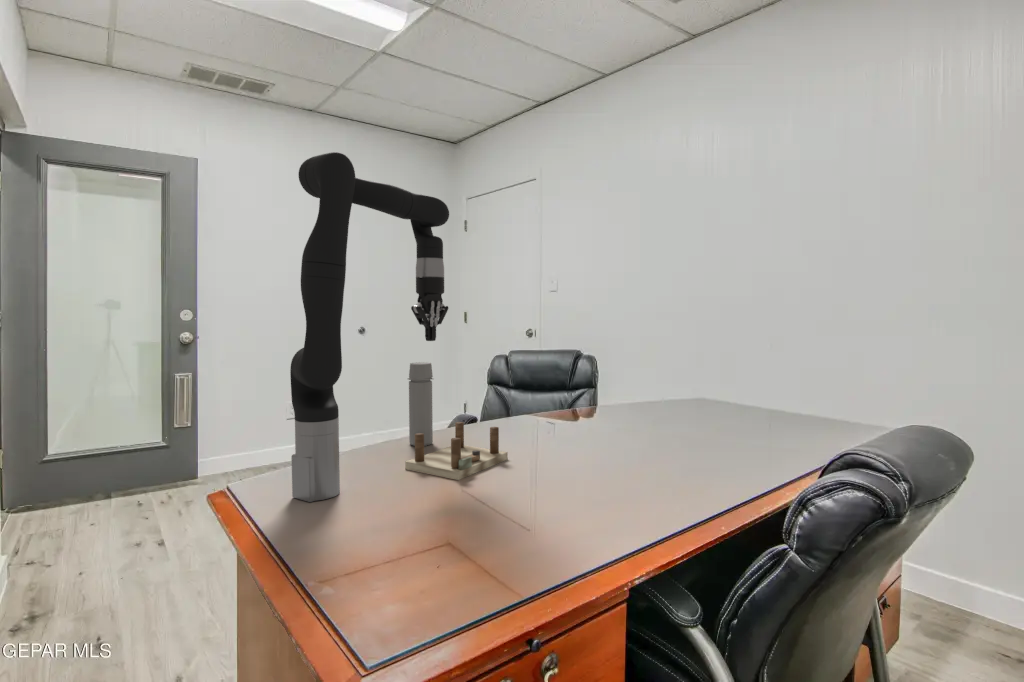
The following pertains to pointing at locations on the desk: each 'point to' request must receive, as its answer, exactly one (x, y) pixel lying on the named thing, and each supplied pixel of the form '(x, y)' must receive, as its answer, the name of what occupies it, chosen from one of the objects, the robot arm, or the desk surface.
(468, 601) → the desk surface
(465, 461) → the stool frame
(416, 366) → the water bottle
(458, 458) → the swing leg
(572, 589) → the desk surface
